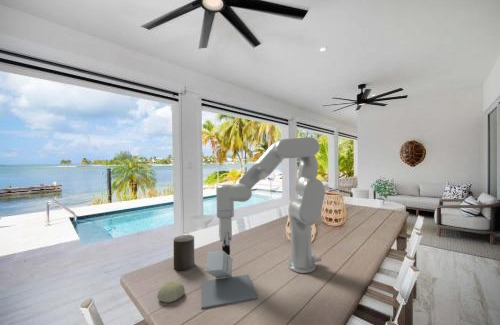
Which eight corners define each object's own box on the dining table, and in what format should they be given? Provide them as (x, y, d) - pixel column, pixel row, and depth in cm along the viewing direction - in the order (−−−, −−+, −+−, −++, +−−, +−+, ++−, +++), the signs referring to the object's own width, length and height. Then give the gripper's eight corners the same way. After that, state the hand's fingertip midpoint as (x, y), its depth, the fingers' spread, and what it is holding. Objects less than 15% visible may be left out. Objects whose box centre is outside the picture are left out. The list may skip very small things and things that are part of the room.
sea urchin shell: (160, 285, 82) (174, 270, 82) (175, 298, 82) (189, 283, 83) (151, 300, 73) (167, 283, 73) (167, 315, 73) (184, 297, 74)
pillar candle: (176, 273, 94) (176, 240, 94) (171, 264, 102) (171, 234, 102) (197, 267, 99) (197, 236, 99) (191, 259, 107) (191, 230, 107)
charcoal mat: (248, 275, 90) (248, 274, 90) (258, 298, 75) (258, 297, 75) (201, 282, 86) (201, 281, 86) (201, 309, 70) (201, 307, 70)
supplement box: (232, 277, 88) (222, 270, 78) (216, 278, 89) (204, 271, 80) (233, 258, 93) (224, 250, 83) (217, 259, 94) (206, 251, 84)
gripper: (215, 209, 98) (216, 248, 98) (218, 217, 83) (218, 263, 83) (231, 208, 99) (232, 247, 99) (236, 216, 85) (237, 261, 85)
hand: (226, 254), depth 91 cm, fingers closed
